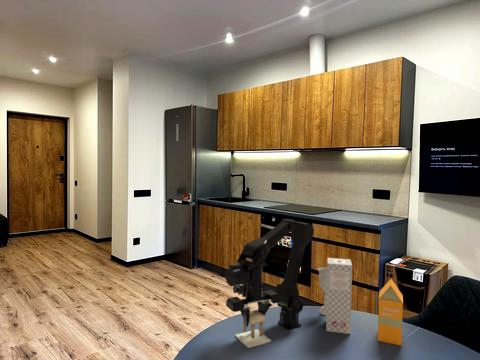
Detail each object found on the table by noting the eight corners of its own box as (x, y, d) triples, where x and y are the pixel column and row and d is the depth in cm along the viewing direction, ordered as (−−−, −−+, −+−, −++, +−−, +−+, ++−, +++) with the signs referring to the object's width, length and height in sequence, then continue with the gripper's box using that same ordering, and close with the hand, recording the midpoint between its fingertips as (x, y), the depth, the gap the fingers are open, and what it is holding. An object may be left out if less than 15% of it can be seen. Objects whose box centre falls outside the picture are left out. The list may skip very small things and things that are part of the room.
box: (326, 331, 124) (327, 263, 123) (326, 321, 132) (327, 257, 131) (350, 334, 122) (352, 265, 121) (348, 323, 130) (350, 259, 129)
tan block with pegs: (264, 335, 115) (264, 315, 115) (251, 339, 113) (252, 318, 113) (253, 327, 121) (254, 308, 121) (241, 330, 119) (242, 310, 119)
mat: (257, 330, 123) (257, 329, 123) (270, 341, 115) (270, 340, 115) (235, 336, 119) (235, 334, 119) (248, 348, 111) (248, 346, 111)
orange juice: (401, 334, 122) (403, 279, 122) (401, 345, 114) (403, 287, 114) (378, 329, 125) (379, 276, 125) (377, 340, 117) (378, 283, 117)
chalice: (334, 317, 135) (335, 272, 135) (317, 315, 137) (318, 271, 136) (333, 309, 143) (334, 267, 142) (316, 308, 144) (317, 266, 143)
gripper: (264, 270, 128) (263, 310, 129) (219, 277, 119) (218, 320, 120) (281, 278, 118) (280, 322, 119) (234, 287, 109) (233, 334, 110)
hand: (253, 324), depth 117 cm, fingers closed on tan block with pegs, 5 cm apart
